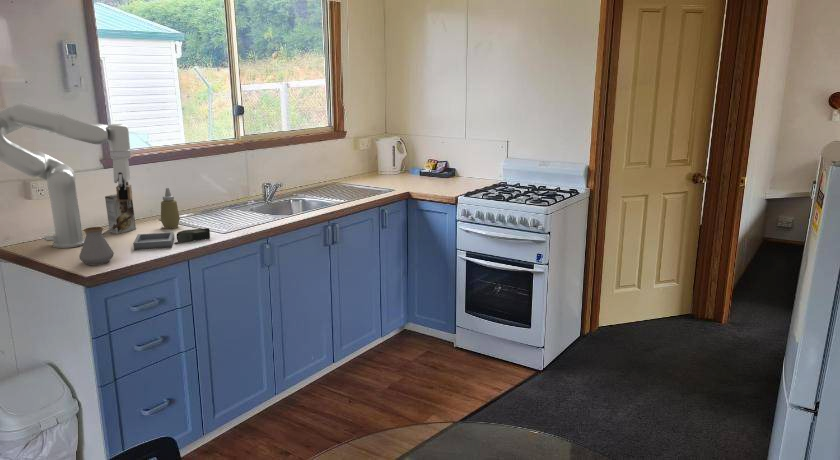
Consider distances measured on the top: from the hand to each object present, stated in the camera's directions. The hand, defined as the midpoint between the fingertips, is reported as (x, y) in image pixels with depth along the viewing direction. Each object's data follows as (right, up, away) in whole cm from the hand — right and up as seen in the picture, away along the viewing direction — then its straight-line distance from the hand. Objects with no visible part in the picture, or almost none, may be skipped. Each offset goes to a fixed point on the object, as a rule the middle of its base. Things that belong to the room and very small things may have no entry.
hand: (124, 197), depth 258 cm
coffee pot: (+6, -25, -24) cm, 35 cm away
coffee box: (-9, -14, +16) cm, 23 cm away
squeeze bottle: (+10, -12, +23) cm, 28 cm away
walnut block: (0, -1, 0) cm, 1 cm away
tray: (+14, -19, -4) cm, 25 cm away
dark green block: (+28, -18, +2) cm, 33 cm away
